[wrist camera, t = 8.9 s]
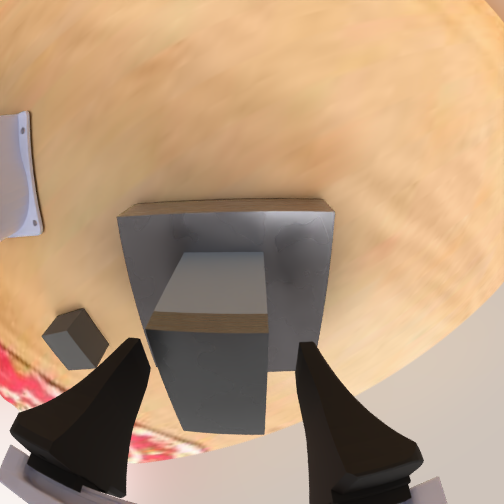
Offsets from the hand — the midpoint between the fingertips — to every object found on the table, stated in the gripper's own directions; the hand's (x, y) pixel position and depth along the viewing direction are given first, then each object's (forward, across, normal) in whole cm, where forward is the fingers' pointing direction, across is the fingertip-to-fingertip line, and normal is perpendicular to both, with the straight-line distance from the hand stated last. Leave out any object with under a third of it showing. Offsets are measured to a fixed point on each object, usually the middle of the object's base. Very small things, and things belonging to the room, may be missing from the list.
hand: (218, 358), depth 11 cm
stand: (+6, 0, 0) cm, 6 cm away
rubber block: (+7, +14, +5) cm, 16 cm away
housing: (+4, 0, 0) cm, 4 cm away
